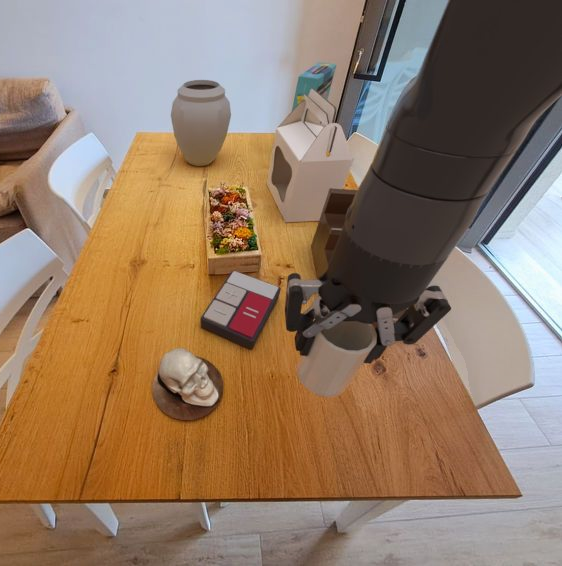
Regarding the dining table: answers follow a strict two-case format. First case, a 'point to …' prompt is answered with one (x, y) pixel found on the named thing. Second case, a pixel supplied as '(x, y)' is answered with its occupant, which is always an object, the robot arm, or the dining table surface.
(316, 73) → the game box
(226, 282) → the calculator
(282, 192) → the gable box
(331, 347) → the cup
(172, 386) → the skull
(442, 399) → the dining table surface
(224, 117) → the vase
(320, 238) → the shelf rack
